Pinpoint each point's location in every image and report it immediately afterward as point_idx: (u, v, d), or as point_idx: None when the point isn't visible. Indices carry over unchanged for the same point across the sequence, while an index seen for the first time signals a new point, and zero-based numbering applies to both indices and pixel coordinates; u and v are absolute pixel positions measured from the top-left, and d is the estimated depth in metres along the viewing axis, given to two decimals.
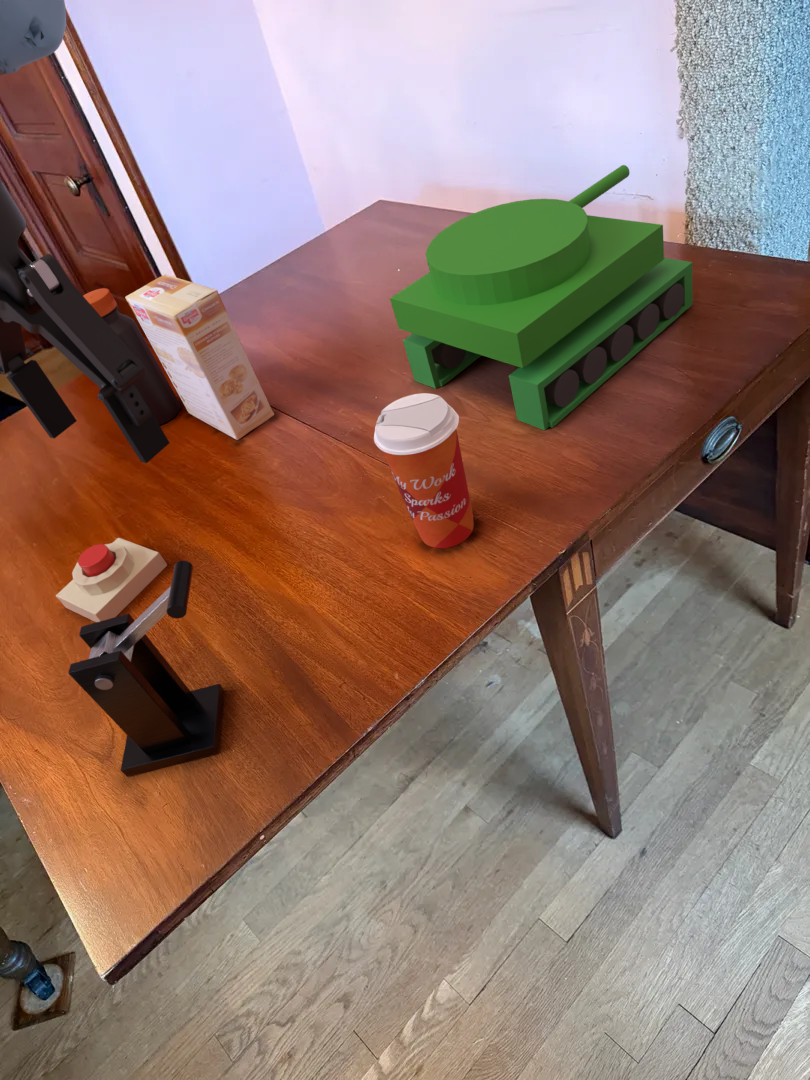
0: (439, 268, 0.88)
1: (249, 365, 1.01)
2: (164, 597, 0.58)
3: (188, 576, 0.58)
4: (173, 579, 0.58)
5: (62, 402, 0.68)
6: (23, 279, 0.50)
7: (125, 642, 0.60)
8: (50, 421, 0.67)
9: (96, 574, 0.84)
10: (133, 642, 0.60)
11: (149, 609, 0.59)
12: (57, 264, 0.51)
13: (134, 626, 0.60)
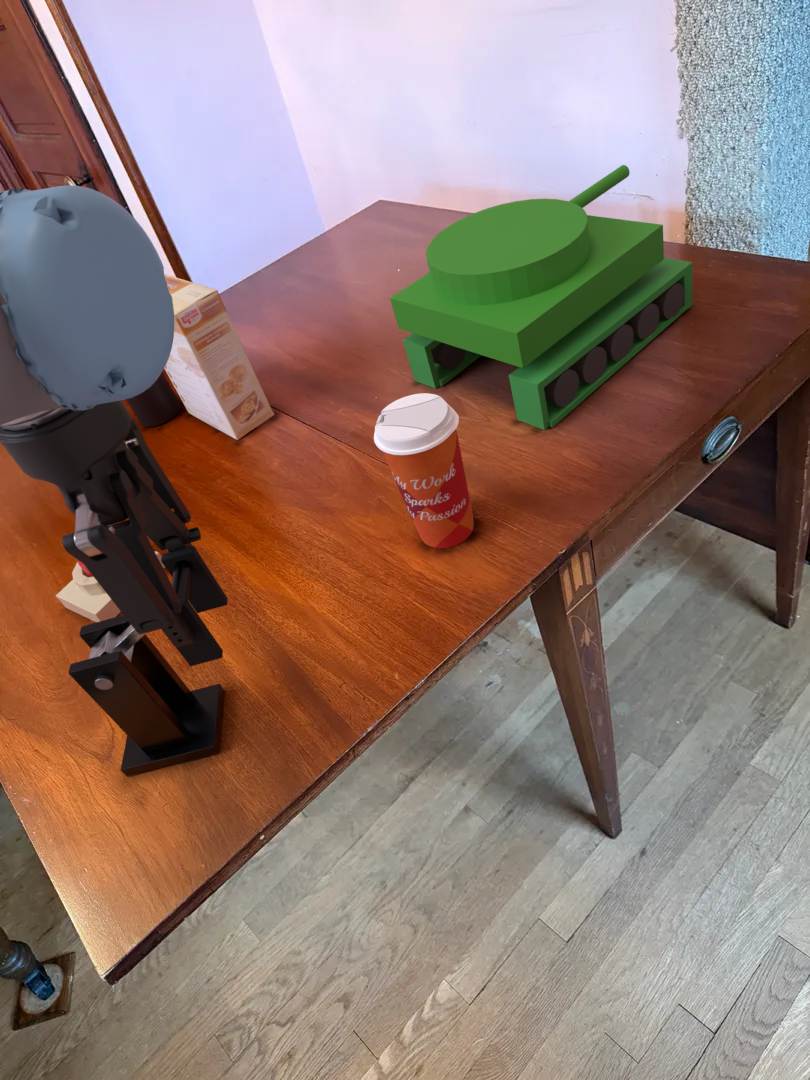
0: (439, 268, 0.88)
1: (249, 365, 1.01)
2: None
3: (188, 576, 0.58)
4: (173, 579, 0.58)
5: (213, 588, 0.62)
6: None
7: (125, 642, 0.60)
8: (196, 600, 0.62)
9: None
10: (133, 642, 0.60)
11: None
12: (103, 543, 0.46)
13: None
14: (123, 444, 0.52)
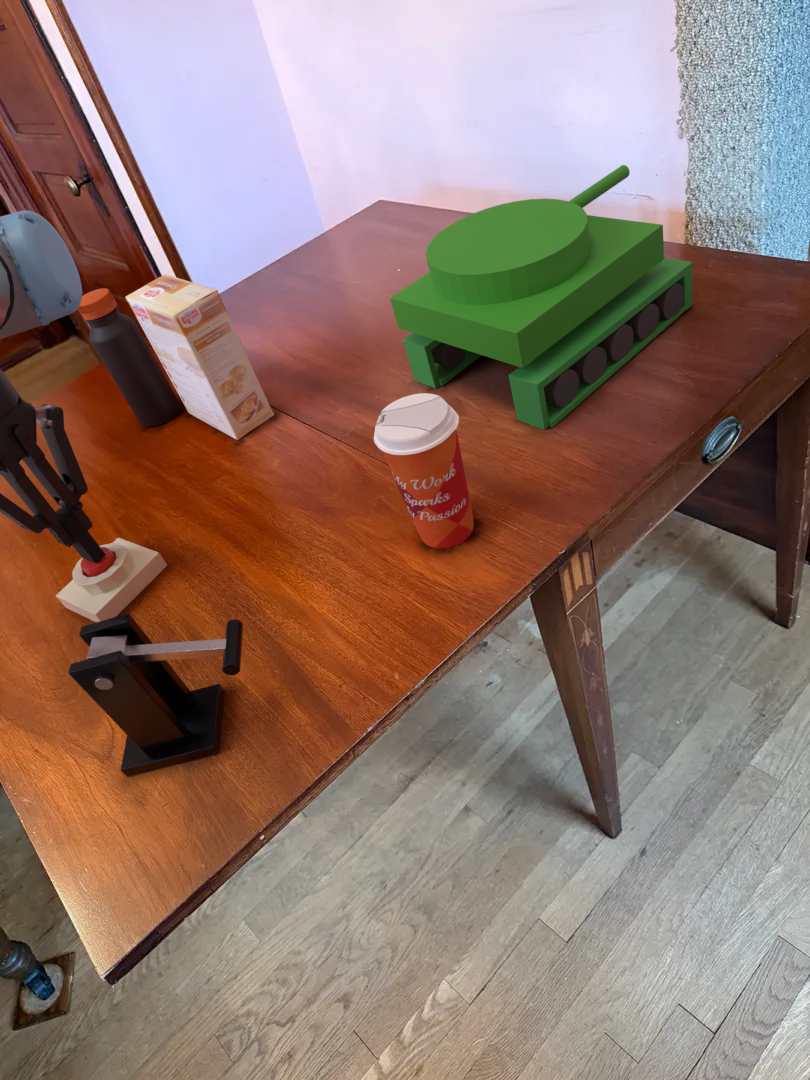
0: (439, 268, 0.88)
1: (249, 365, 1.01)
2: (215, 646, 0.62)
3: None
4: (232, 636, 0.63)
5: (89, 545, 0.83)
6: None
7: (142, 656, 0.62)
8: None
9: None
10: (148, 660, 0.62)
11: (189, 644, 0.62)
12: None
13: (163, 649, 0.62)
14: (30, 418, 0.74)
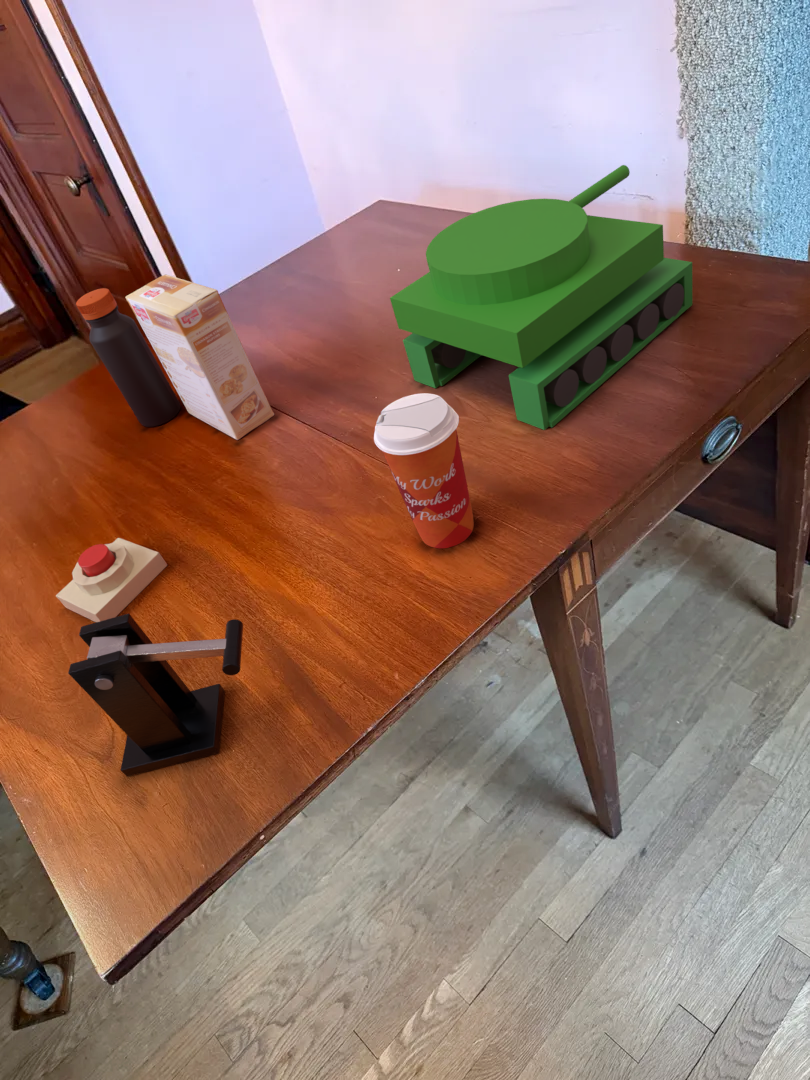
0: (439, 268, 0.89)
1: (249, 365, 1.01)
2: (215, 646, 0.62)
3: None
4: (232, 636, 0.63)
5: None
6: None
7: (142, 656, 0.62)
8: None
9: (96, 574, 0.84)
10: (148, 660, 0.62)
11: (189, 644, 0.62)
12: None
13: (163, 649, 0.62)
14: None
